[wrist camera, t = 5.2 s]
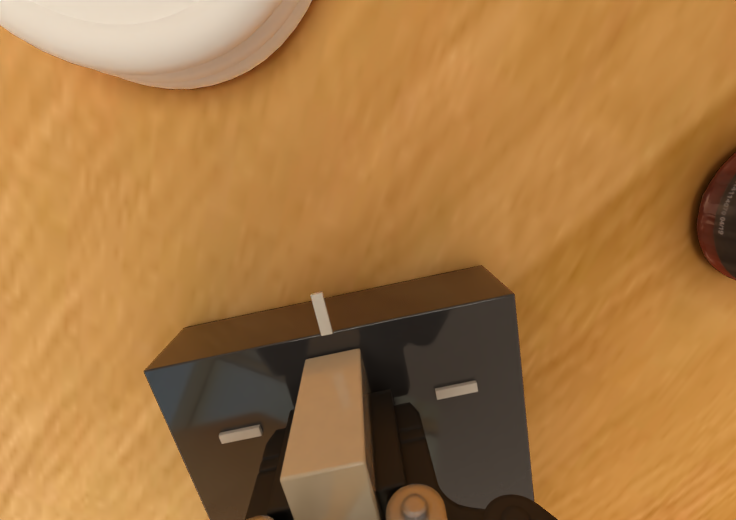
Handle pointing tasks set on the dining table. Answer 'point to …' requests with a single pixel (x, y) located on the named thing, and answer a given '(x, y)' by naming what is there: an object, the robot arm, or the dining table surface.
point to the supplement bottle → (720, 220)
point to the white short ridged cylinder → (157, 35)
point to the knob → (331, 443)
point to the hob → (383, 369)
